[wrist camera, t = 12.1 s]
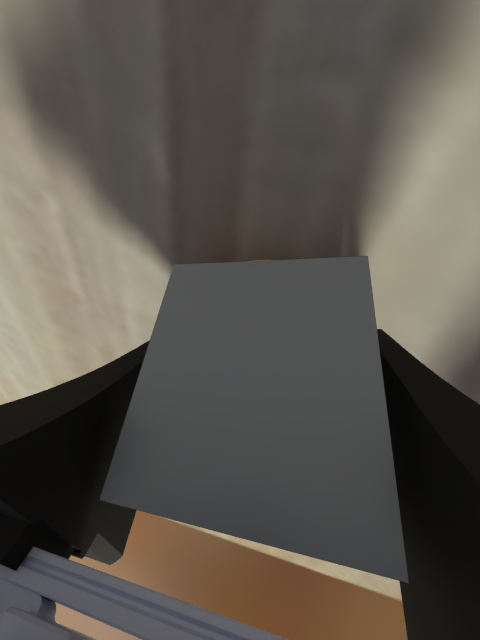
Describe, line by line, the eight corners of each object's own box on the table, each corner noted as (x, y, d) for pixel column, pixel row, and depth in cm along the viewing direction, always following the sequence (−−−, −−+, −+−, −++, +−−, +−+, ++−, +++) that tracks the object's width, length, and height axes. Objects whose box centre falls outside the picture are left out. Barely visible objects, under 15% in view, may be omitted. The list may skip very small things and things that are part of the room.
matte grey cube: (367, 256, 6) (408, 583, 4) (337, 337, 12) (344, 499, 9) (174, 264, 8) (99, 499, 5) (223, 333, 13) (199, 469, 10)
